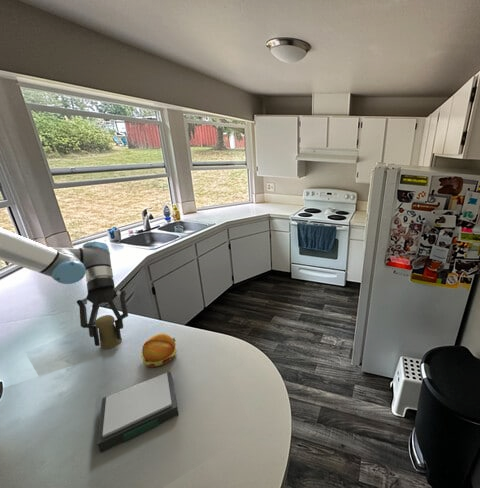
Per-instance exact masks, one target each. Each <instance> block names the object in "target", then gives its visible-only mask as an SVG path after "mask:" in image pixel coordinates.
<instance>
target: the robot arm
mask: <svg viewBox="0 0 480 488" xmlns="http://www.w3.org/2000/svg"><path fill="white" fill-rule="evenodd" d="M0 260H1V261H3V262H7V263H9V264H13V265H15V266H18V267H21V268H24V269H27V270H30V271H34V272H36V273H39V274H41V275H45V276H48V277H51V278H52V280H54V281H56V282H57V283H59V284H62V285H72V284H75V283H78V282H80V281H81V280H82V279H83V278H84V277H85V281H86V290H87V295H86V297H85V298H83V299H78V300H76V304H77V306H78V307H79V321H80V327H81V328H83V329H88V334H89V337H90V338H93V341H94V346H96V347H99V346H100V337H99V329H98V328H97V327H96V326H95V321H96V320H97V319H98V318H97V317H98V313H99V309H100V307H101V306H103V305H108V306H109V308H110V309H111V310H112V312H113V314H114V316H115V317H116V319H115V322H114V325H115V327H116V334H117V339H118V340H119V339H121V338H122V334H121V330H122V329H124V319H125V318H128V317H129V312H128V307H127V302H126V301H127V300H126V295H127V293H126V291H125V290H117V289H116V286H115V280H114V274H113V268H112V262H111V252H110V249H109V245H108V244H107V243H106V242H104V241H101V240H99V241H98V240H93V241H88V242H85V243H84V244H83V245H82V247H52V246H50V247H48V246H46V245H43V244H42V243H39V242H36V241H34V240H32V239H29V238H26V237H24V236H21V235H19V234H16V233H15V232H12V231H9V230H6V229H4V228H2V227H0ZM115 297H118V298H119V301H120V305H121V306H120V307H121V311H122V314H121V313H120V312H119V310H118V308H117V306H116V304H115V303H114V299H115ZM88 302H90V303H91V311H90V314H89V315H90V316H89V319H88V314H87V305H88Z"/></svg>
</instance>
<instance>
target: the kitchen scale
mask: <svg viewBox="0 0 480 488" xmlns="http://www.w3.org/2000/svg"><path fill="white" fill-rule="evenodd" d="M101 401H102V402H101V409H100V417H99V426H98V435H97V443H96V445H97V447H98V450H99V452H100V453H103V452H106V451H108V450H110V449H112V448H114V447H116V446H118V445H121V444H122V443H124V442H126V441H128V440H130V439H132V438H134V437H136V436H138V435H140V434H143V433H145V432H146V431H149V430H150V429H152V428H154V427H157V426H159V425H161V424H163V423H165V422H167V421H169V420H171V419H173V418H175V417H178V416H179V413H180V412H179V408H178V403H177V398H176V391H175V386H174V380H173V375H172V371H168V372H165V373H162V374H159V375H157V376H155V377H152V378H150V379H147V380H144V381H142V382H139V383H137V384H135V385H132V386H129V387H126V388H124V389H122V390H120V391H116V392H115V393H111V394H109V395H107V396H104V397H102V400H101Z"/></svg>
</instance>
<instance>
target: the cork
mask: <svg viewBox="0 0 480 488" xmlns="http://www.w3.org/2000/svg"><path fill="white" fill-rule="evenodd" d="M115 320H116V319H115V317H114V316H113V315H111V314H106V315H102V316H99V317H98V318H96V321H95V326H96V327H97V328H98V335H99V343H100V345H99V346H100V348H101V350H109V349H113V348H115V347H117V346H118V345H120V344H121V343H122V342H123V338H122V337H121V339H119V340H118V339H117V334H116V327H115Z"/></svg>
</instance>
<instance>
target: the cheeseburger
mask: <svg viewBox="0 0 480 488" xmlns="http://www.w3.org/2000/svg"><path fill="white" fill-rule="evenodd" d="M176 343H177V342H176V338H175V337H172V336H170V334H166V333H158V334H154V335H153V336H151V337H149V338H148V339H147V340H146V341H145V342H144V343H143V345H142V349H141V358H142V364H143V365H145V366H146V367H150V368H156V367H160V366H163V365H165V364H167V363H168V362H170V361H171V360H172V359H173V358H174V357H175V355H176V353H177V350H178V349H177V347H176V345H177V344H176Z"/></svg>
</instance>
